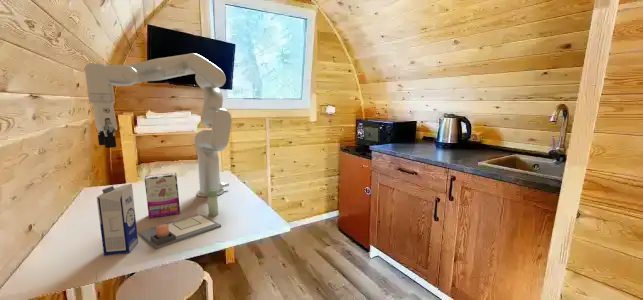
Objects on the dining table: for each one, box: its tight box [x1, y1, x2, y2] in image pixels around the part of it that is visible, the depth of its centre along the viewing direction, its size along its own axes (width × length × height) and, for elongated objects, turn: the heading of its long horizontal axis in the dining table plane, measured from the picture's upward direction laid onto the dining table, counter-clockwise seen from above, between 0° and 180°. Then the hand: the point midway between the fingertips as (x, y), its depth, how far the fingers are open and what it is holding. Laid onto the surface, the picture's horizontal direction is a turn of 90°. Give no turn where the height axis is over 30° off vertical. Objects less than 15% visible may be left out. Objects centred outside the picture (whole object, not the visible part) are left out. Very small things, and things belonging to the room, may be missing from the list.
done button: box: [155, 223, 169, 238], centre depth 94 cm, size 4×4×3 cm
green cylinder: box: [207, 189, 219, 217], centre depth 117 cm, size 4×4×10 cm
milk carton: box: [96, 183, 139, 256], centre depth 88 cm, size 7×7×20 cm
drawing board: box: [137, 213, 222, 250], centre depth 103 cm, size 22×16×2 cm
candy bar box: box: [144, 172, 181, 219], centre depth 116 cm, size 11×5×16 cm, turn 117°
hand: (107, 146), depth 108 cm, fingers open, 9 cm apart
